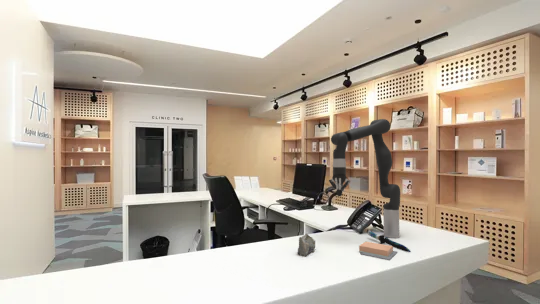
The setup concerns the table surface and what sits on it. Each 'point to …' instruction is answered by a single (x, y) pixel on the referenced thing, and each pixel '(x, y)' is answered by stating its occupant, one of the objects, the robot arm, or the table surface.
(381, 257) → the slate mat
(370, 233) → the knife
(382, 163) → the robot arm
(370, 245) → the tile
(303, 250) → the mineral rock
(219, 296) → the table surface
